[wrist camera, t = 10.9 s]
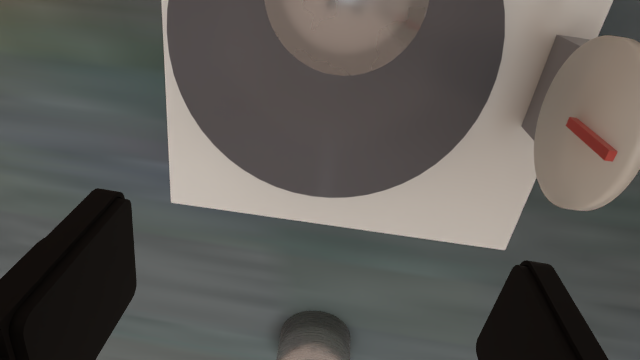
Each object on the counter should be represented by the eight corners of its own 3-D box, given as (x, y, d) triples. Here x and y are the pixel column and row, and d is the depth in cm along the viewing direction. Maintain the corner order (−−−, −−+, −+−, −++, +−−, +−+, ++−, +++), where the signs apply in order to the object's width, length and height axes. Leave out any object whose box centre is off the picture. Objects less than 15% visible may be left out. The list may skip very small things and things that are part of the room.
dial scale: (644, -160, 20) (982, -266, 9) (492, 223, 31) (567, 378, 20) (175, -232, 20) (-31, -424, 9) (186, 179, 31) (97, 313, 20)
